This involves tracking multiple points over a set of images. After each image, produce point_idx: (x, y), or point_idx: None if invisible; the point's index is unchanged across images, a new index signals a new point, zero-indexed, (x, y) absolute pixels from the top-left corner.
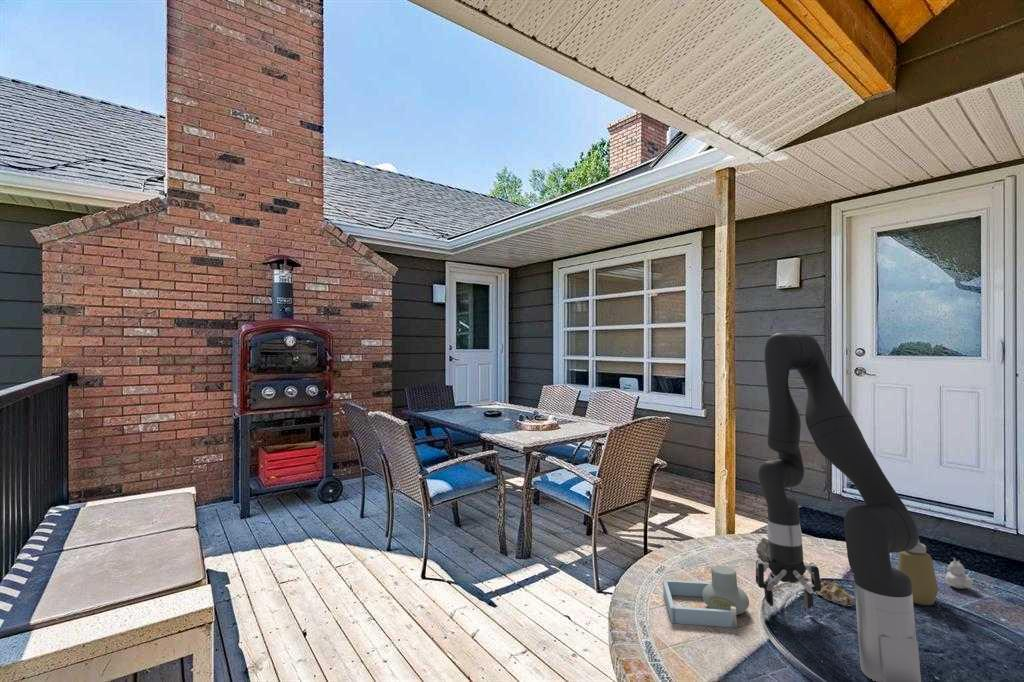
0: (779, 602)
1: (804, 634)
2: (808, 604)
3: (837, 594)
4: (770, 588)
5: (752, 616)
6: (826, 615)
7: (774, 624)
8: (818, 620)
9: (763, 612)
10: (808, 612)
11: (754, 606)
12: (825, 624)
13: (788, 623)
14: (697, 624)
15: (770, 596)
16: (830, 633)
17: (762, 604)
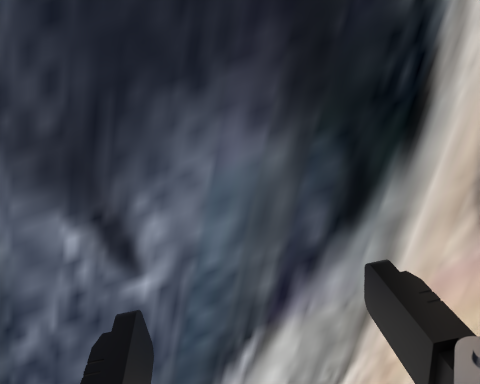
0: (273, 368)
1: (207, 12)
2: (128, 330)
3: None
4: (471, 362)
5: (474, 168)
6: (40, 325)
7: (376, 104)
8: (90, 252)
9: (392, 238)
10: None
11: None
12: (49, 215)
13: (282, 149)
14: None
15: (423, 303)
16: (18, 94)
17: (367, 320)
